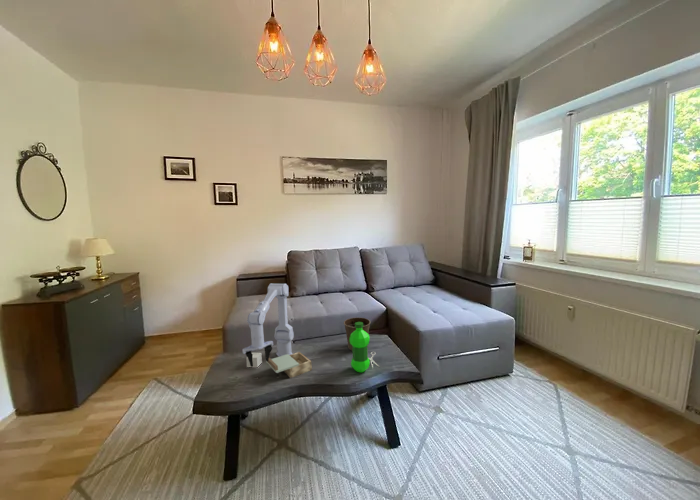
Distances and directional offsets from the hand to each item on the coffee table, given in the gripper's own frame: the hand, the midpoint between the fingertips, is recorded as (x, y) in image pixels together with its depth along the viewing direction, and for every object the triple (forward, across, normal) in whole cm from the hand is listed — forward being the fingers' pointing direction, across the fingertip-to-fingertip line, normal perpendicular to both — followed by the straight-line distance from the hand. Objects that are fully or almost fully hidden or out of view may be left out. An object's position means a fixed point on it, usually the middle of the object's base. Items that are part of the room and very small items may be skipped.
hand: (259, 363), depth 141 cm
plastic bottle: (+10, +45, -23) cm, 51 cm away
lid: (+4, +12, 0) cm, 13 cm away
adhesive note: (+10, +3, +18) cm, 21 cm away
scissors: (+10, +56, -18) cm, 59 cm away
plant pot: (+10, +60, -1) cm, 61 cm away
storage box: (+9, +19, 0) cm, 21 cm away
